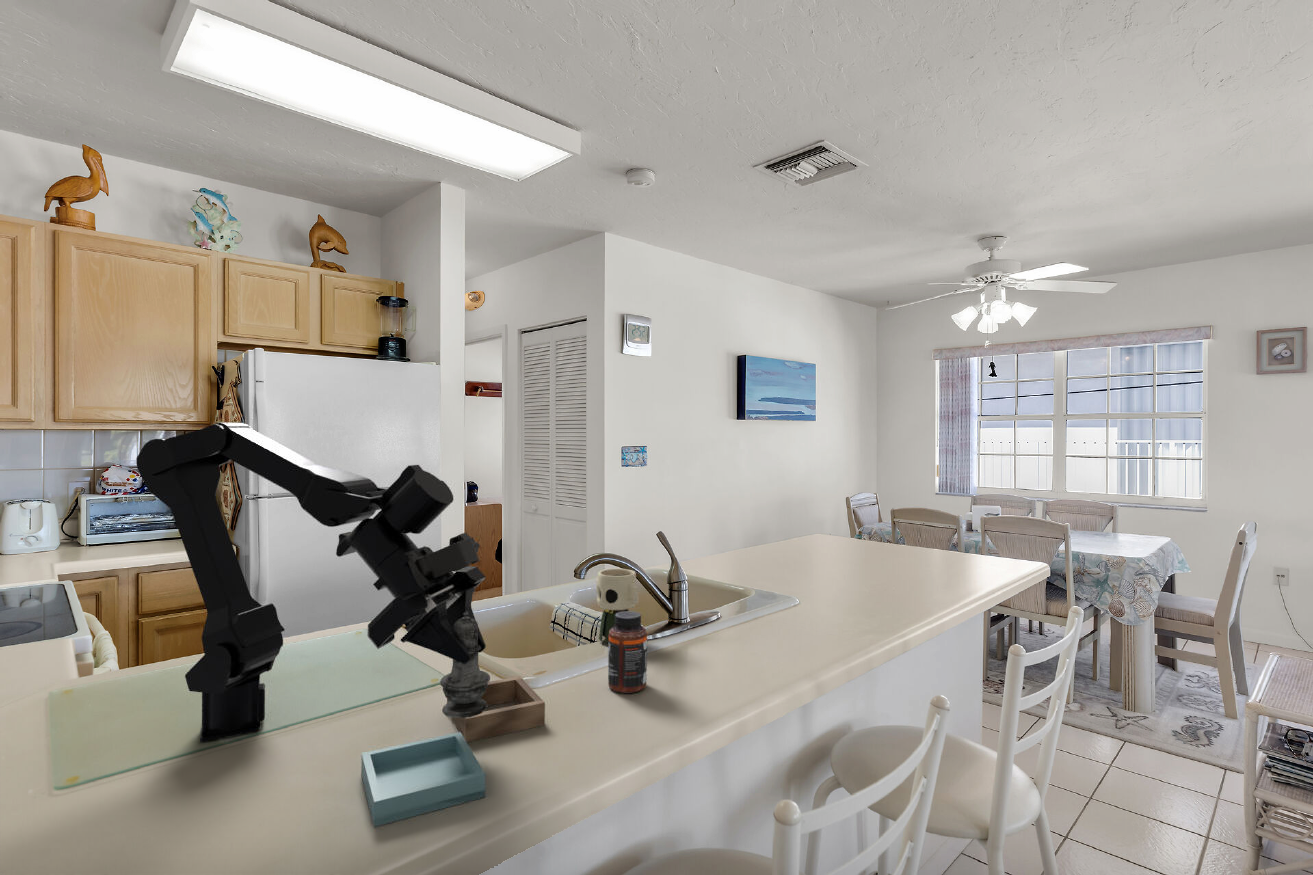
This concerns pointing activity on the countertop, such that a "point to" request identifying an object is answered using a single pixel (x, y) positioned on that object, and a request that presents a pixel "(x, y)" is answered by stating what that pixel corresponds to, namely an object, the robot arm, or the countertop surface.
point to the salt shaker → (465, 676)
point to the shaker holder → (504, 711)
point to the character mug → (615, 596)
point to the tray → (420, 777)
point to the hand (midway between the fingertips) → (475, 655)
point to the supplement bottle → (627, 653)
